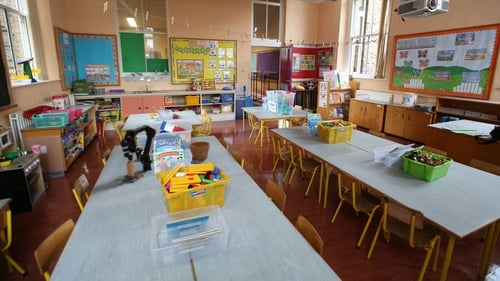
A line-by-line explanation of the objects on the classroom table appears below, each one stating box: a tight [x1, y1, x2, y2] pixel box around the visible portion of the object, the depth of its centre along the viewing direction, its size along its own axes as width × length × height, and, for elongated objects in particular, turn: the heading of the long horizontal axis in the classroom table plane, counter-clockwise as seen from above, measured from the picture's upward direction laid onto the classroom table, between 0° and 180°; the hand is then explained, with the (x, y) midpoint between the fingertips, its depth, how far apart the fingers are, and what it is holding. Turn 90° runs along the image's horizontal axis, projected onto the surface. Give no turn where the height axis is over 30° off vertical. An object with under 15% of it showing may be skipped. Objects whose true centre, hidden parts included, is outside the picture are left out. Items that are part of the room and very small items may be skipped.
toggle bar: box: [125, 159, 136, 176], centre depth 237 cm, size 4×4×16 cm
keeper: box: [121, 172, 145, 184], centre depth 240 cm, size 14×11×4 cm
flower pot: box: [188, 141, 211, 161], centre depth 290 cm, size 21×21×15 cm
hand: (134, 161), depth 244 cm, fingers open, 9 cm apart
